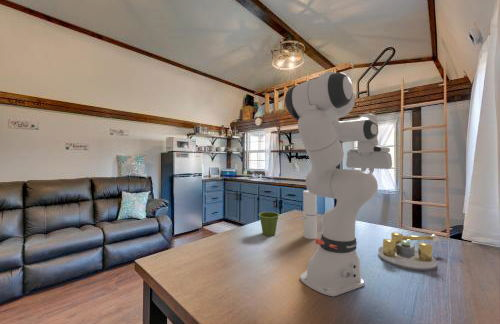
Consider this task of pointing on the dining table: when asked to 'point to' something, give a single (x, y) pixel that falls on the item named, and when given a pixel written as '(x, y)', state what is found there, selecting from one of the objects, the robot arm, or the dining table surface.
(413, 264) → the tribrach
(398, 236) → the brass lever handle
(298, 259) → the dining table surface
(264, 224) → the plant pot
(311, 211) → the cylindrical container
